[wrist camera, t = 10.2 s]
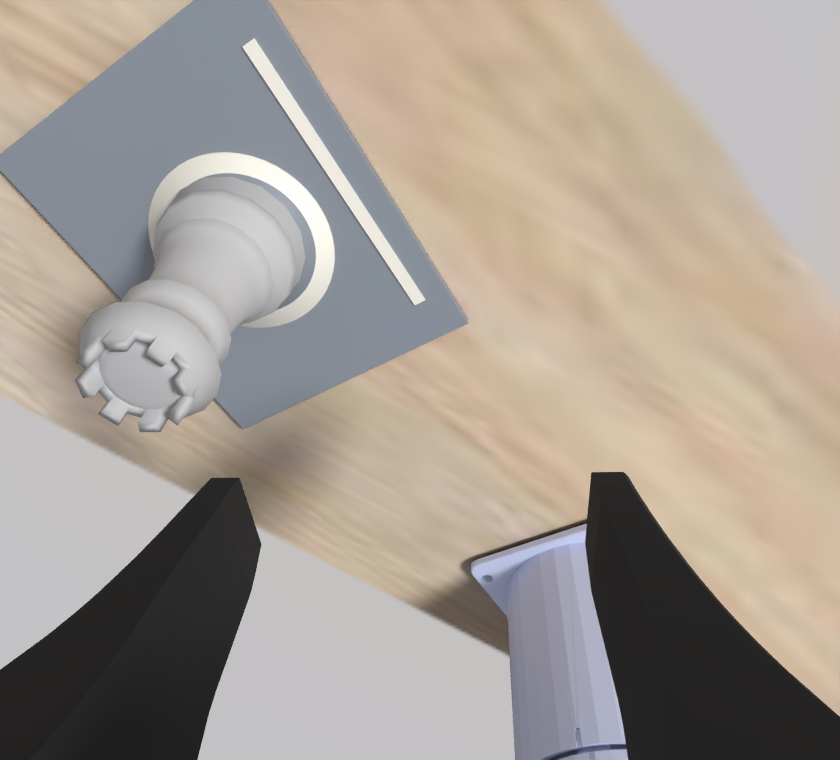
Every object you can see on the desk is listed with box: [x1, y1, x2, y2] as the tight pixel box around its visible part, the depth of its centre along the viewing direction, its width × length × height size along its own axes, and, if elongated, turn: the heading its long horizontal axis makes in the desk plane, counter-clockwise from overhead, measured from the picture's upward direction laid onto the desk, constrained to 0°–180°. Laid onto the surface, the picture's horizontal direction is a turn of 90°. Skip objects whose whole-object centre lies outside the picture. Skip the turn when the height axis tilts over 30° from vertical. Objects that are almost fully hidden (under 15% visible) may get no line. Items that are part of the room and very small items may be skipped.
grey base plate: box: [0, 0, 468, 429], centre depth 21 cm, size 12×10×1 cm
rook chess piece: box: [75, 177, 306, 432], centre depth 17 cm, size 4×4×8 cm
